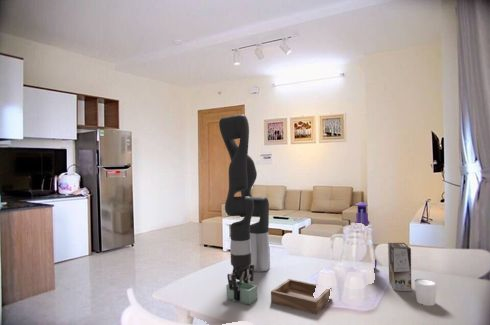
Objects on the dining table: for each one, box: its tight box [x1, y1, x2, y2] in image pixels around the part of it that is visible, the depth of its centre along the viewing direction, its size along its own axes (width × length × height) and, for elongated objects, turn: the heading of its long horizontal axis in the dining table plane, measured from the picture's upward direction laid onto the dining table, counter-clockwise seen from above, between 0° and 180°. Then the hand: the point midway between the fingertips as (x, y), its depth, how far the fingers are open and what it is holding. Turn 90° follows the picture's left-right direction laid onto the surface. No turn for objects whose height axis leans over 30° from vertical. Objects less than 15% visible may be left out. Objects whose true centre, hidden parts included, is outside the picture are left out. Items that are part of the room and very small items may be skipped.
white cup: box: [414, 278, 438, 307], centre depth 115 cm, size 7×7×7 cm
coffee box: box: [387, 242, 412, 292], centre depth 129 cm, size 9×6×16 cm
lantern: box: [354, 201, 378, 269], centre depth 151 cm, size 13×12×30 cm
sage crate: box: [225, 281, 259, 306], centre depth 121 cm, size 5×10×5 cm, turn 55°
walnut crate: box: [270, 278, 332, 315], centre depth 119 cm, size 14×17×4 cm
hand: (242, 297), depth 121 cm, fingers closed on sage crate, 5 cm apart
